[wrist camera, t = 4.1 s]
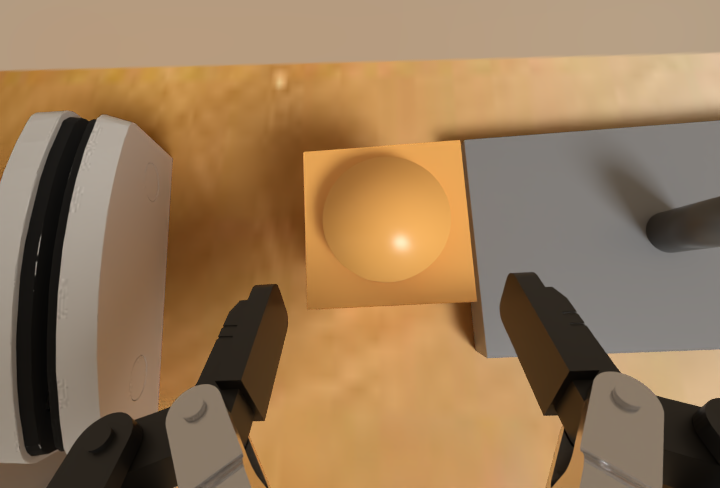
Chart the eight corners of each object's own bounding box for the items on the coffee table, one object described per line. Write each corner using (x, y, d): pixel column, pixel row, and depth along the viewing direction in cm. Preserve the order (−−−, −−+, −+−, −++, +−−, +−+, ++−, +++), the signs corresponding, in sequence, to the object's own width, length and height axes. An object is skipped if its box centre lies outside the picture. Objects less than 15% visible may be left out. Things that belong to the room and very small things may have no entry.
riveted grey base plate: (475, 350, 18) (535, 388, 11) (455, 155, 20) (496, 82, 13) (849, 335, 17) (1176, 368, 10) (793, 129, 19) (1036, 36, 12)
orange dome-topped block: (340, 300, 19) (300, 311, 9) (337, 212, 20) (297, 141, 10) (431, 295, 19) (485, 302, 9) (424, 206, 19) (466, 128, 10)
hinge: (102, 158, 21) (-31, 51, 12) (179, 164, 23) (115, 72, 13) (78, 418, 19) (-116, 546, 9) (166, 408, 20) (75, 510, 11)
